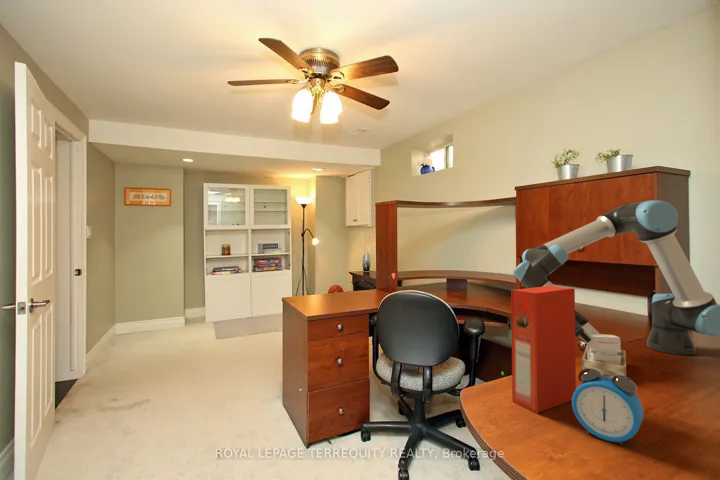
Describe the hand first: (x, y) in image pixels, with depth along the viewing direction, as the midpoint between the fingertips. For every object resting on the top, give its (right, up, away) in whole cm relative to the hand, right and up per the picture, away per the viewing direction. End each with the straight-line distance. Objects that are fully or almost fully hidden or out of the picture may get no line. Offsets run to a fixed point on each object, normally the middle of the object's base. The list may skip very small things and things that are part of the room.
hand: (599, 344), depth 121 cm
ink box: (+1, -9, -1) cm, 9 cm away
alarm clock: (-25, -10, -39) cm, 47 cm away
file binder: (-30, -10, -21) cm, 38 cm away
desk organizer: (+4, -10, +3) cm, 11 cm away
